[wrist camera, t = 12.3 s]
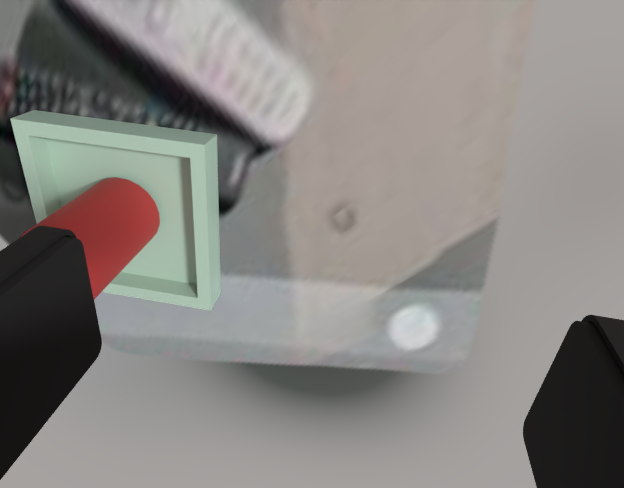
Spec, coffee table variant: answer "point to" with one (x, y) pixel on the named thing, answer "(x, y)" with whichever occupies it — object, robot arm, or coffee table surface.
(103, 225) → the beer can
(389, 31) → the coffee table surface
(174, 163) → the tray
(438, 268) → the coffee table surface
